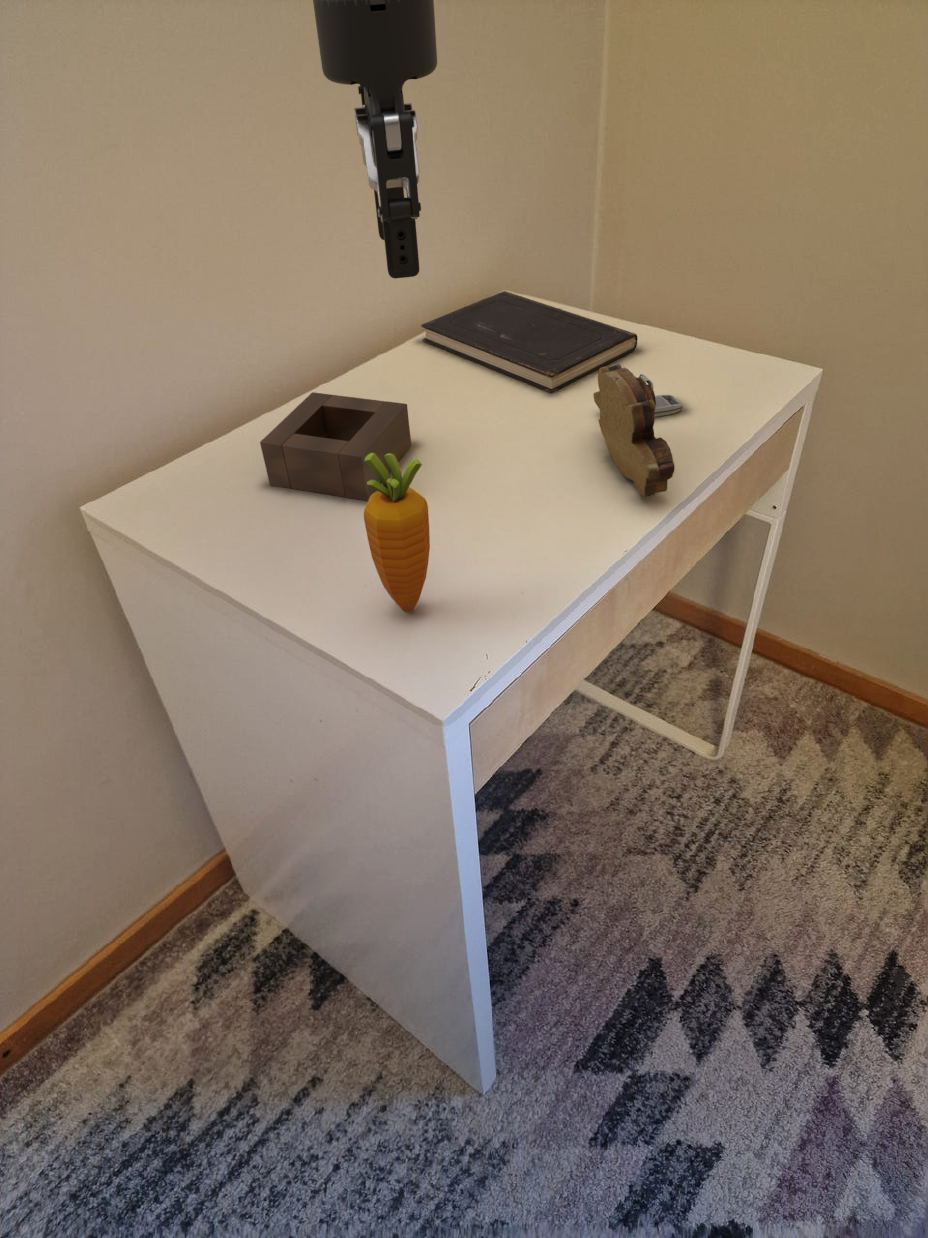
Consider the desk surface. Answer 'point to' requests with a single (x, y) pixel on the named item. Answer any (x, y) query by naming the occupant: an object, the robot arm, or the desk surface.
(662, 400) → the strap clip
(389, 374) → the desk surface
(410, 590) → the carrot
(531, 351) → the hardcover book
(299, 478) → the holder
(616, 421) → the wooden carving
